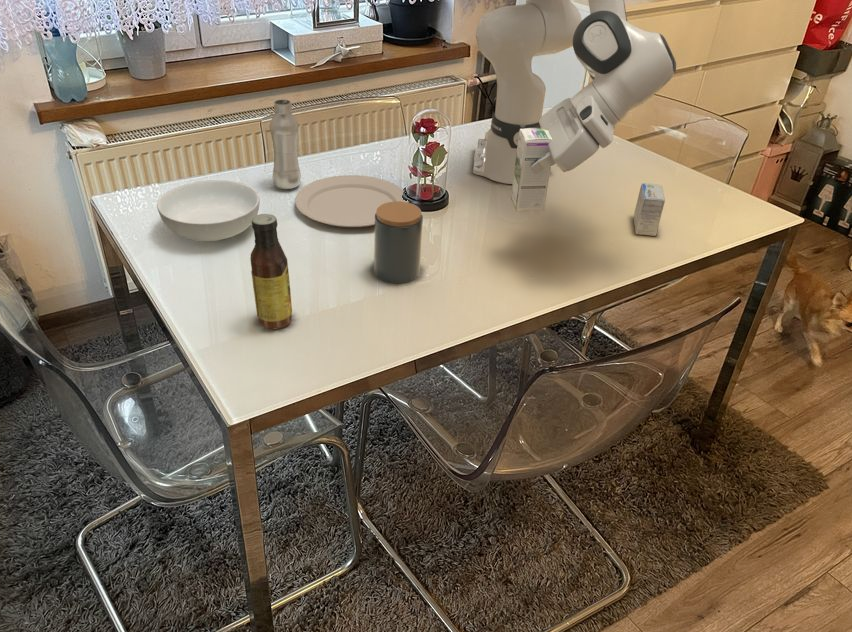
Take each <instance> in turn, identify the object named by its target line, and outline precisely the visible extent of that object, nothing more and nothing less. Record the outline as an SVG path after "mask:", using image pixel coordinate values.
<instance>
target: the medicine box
mask: <svg viewBox="0 0 852 632" xmlns="http://www.w3.org/2000/svg"><path fill="white" fill-rule="evenodd" d="M665 202H666V198H665V193H664V190H663V185H662V184H656V183H646V182H645V183H644V182H643V183H641V185H640V188H639V192H638V196H637V200H636V204H635V208H634V213H633V218H632V219H633V224H634V232H635V235H641V236H651V237H655V236H657V233H658V229H659V226H660V222H661V218H662V214H663V211H664V206H665Z"/></svg>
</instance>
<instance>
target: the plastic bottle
mask: <svg viewBox="0 0 852 632" xmlns="http://www.w3.org/2000/svg"><path fill="white" fill-rule="evenodd" d="M273 106H274V108H273V111H274V112H275V113H274V115H273V116H272V118H271V119H270V122H269V132H270V136H271V141H272V148H273V170H272V180H273V184H274V185H275V187H276V188H278V189H282V190H291V189H295V188H297V187H299V185H300V183H301V179H302V174H301V173H302V172H301V168H300V166H299V165H300V163H299V157H298V138H299V122H298V119H297V118H296V117H295V116H294V114H293V113H292V110H293V108H292V102H291V100H289V99H276V100H275V101H274V103H273Z"/></svg>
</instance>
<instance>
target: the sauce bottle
mask: <svg viewBox="0 0 852 632" xmlns="http://www.w3.org/2000/svg"><path fill="white" fill-rule="evenodd" d="M251 228H252V230H253V235H254V247H253V249H252V251H251V253H250V258H249V260H250V267H251V281H252V287H253V295H254V304H255V311H256V316H257V321H258V322H259V324H260V325H261V326H262V327H263V328H266V329H269V330H277V329H278V330H279V329H281V328H285V327H286V326H288V325H289V324H290V323H291V322H292V320H293V305H292V304H293V303H292V294H291V293H292V292H291V282H290V274H289V273H290V272H289V263H288V257H287V255H286V254H285V251H284V249H283V247H282V245H281V243H280V241H279V238H278V237H279V236H278V230H277V229H278V220H277V217H276V216H275V215H274V214H270V213H261V214H257V216H255V217H253V218H252V224H251Z"/></svg>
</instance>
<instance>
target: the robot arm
mask: <svg viewBox="0 0 852 632" xmlns="http://www.w3.org/2000/svg"><path fill="white" fill-rule="evenodd" d="M587 2H588V8H589V14H588V15H586V16H585V17H584V18H582V16H581V13H580V10H579V9H578V7H577V6H576V5H575V4H574V3H573V2H572V1H571V0H525V3H524V4H523V3H522V4H514V5H505V6H501V7H498V8H496V9H493V10H491V11H490V10H489V11H488V12H486V13H484V14H483V15H482V16H481V18H480V19H479V21H478V23H477V27H476V31H475V32H476V33H475V40H476V45H477V48H478V50H479V52H480V53H481V55H482V56H484V58H486V59H487V60H488V61H489V62H490V64H491V66H492V68H493V71H494V73H495V78H496V98H495V109H494V110H495V111H494V113H493V115H492V117H491V121H490V122H491V124H490V128H489V129H488V130H487V131H486V132H485V133H484V138H478V140H477V147H475V149H474V155H473V167H472V173H473V174H474V175H477V176H481V177H484V178H487V179H489V180H491V181H493V182H497V183H501V184H508V185H513V177H514V169H515V162H516V154H517V146H518V139H519V131H520V129H525V128H546V129H548V131H549V133H550V135H551V137H552V140H551V141H550V142H549V144H548V147H549V150H550V151H549V152H548V153H547V154H545V155H546V156H545V157H543V158H541V159H539V160H538V159H536V160H535V161H534V162H532V163H531V165H530V166H531V169H532V170H533V172H534V173H535V174H537V173H539V172H540V171H541V170H543V169H545V168H548V167H550V166H551V167H553V166H555V165H557V167H558V168H559V169H560V171H562V172H563V173H567V172H571V171H572V170H574V169H576V168H578V167H579V166H580V165H582V164H583V163H584V162H586V161H587V160H589V158H591V157H593V156H594V155H595V154H596V153H597V152H598V151H599V149H600V147H601V148H602V149H605V148H607V147H608V146H609V145H610V144H612V143H613V141H614V132H615V129H616V126H617V125H618V124H619V123H621V122H622V121H623V120H624V118H625V117H626V116H627V115H628V113H630V112H631V111H632V110H634V109H636V108H638V107H640V106H642V105H644V104H645V103H646V102H647V101H649V100H650V99H651V98H652V97H654V96H655V95H656V94H658V93H659V92H660V90H662V89H663V88H664V87H665V86H666V85H667V84H668V83H669V82H670V81H671V80H672V79H673V77H674V75H675V74H676V72H677V61H676V58H675V57H674V55H673V53H672V50H671V48H670V45H669V44H668V42H667V40H666V38H665V37H664V35H663V34H661V33H660V32H653V31H648V30H646V29H642V28H640V27H637V26H635V25H634V24H631V23H630V22H629V21H628V18H627V12H626V11H627V10H626V5H625V0H588V1H587ZM570 48H572V49H573V50H574V55H575V57H576V59H577V61H578V62H579V63H580V64H581V66H582V67H583V68H584V70H586V71H587V72H588V74H589V77H590V78H591V80H592V81H590V82H588V84H587V85H585V86H584V87H583V88H582V89H580V90H579V91H578V92H576V94H574V95H573V96H572V97H568V98H565V99H563V100H561V101H560V102H559V103H557V104H555V106H553V107H551V109H549V110H548V111H546V112H545V113H544V114H543V111H544V105H545V97H546V91H547V89H546V84H545V82H544V80H543V79H542V78H541V77H540V76H539V75H537V74H536V73H534V72H533V68H532V61H533V58H535V57H540V56H541V57H542V56H548V55H549V56H550V55H556V54H558V53H561V52H564V51H565V50H566V51H567V49H570Z"/></svg>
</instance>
